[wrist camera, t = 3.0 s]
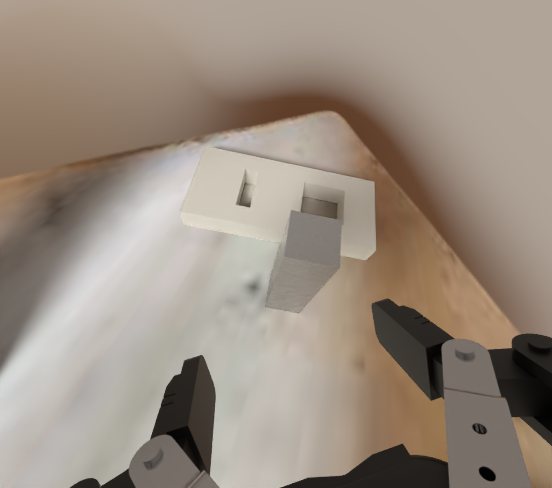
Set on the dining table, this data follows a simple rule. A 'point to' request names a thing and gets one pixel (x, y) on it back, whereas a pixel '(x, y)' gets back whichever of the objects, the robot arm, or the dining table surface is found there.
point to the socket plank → (276, 199)
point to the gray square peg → (304, 260)
